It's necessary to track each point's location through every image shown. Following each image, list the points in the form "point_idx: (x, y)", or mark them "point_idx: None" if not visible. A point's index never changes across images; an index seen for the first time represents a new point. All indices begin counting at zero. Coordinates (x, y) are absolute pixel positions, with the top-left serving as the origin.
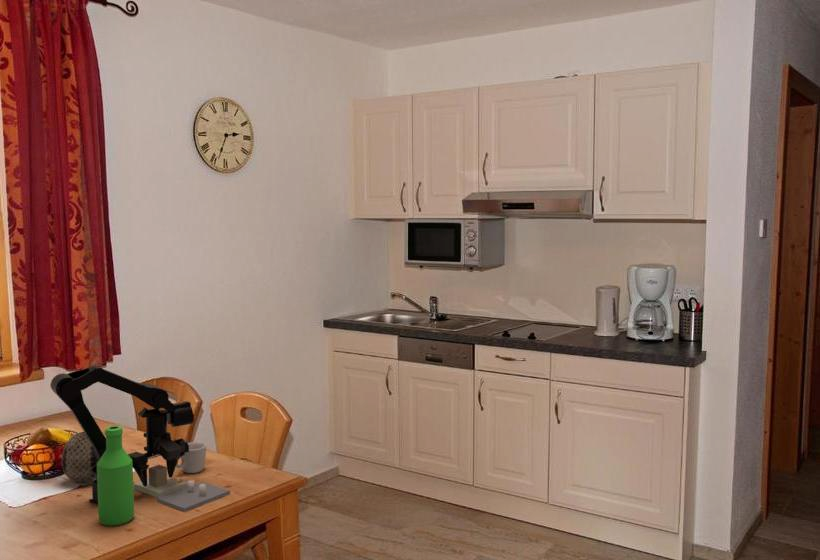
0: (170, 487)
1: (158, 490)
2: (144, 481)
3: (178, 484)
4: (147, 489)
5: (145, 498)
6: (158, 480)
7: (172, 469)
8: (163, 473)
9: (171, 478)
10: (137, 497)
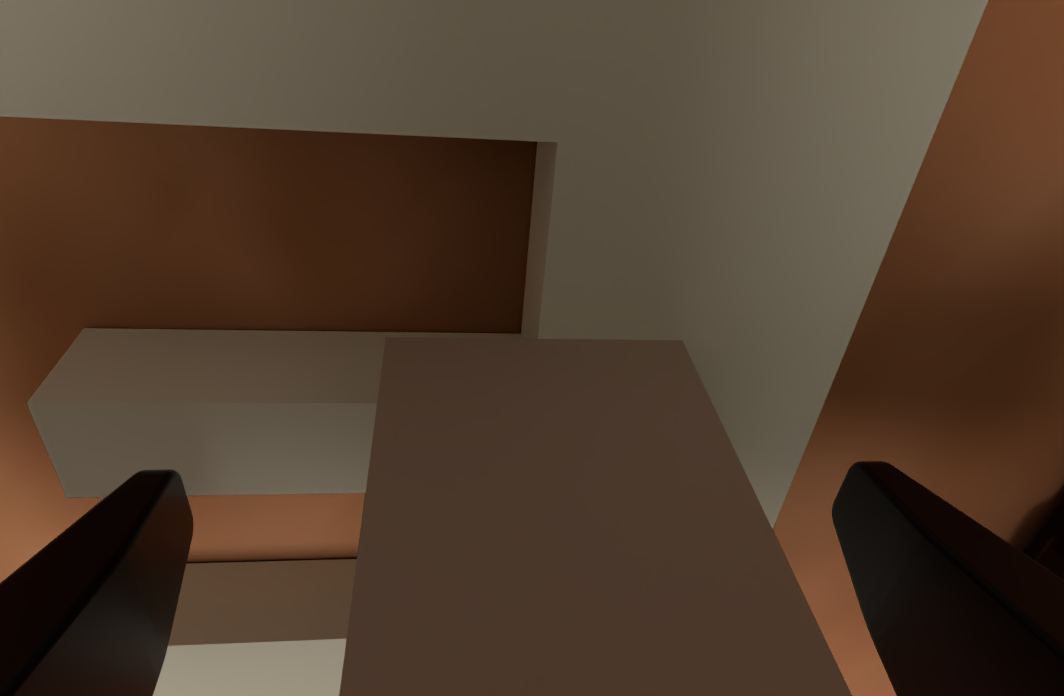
0: (516, 51)
1: (841, 151)
2: (1015, 554)
3: (194, 42)
4: (808, 409)
5: (970, 224)
6: (674, 442)
7: (33, 651)
8: (508, 579)
9: None
10: (954, 363)
